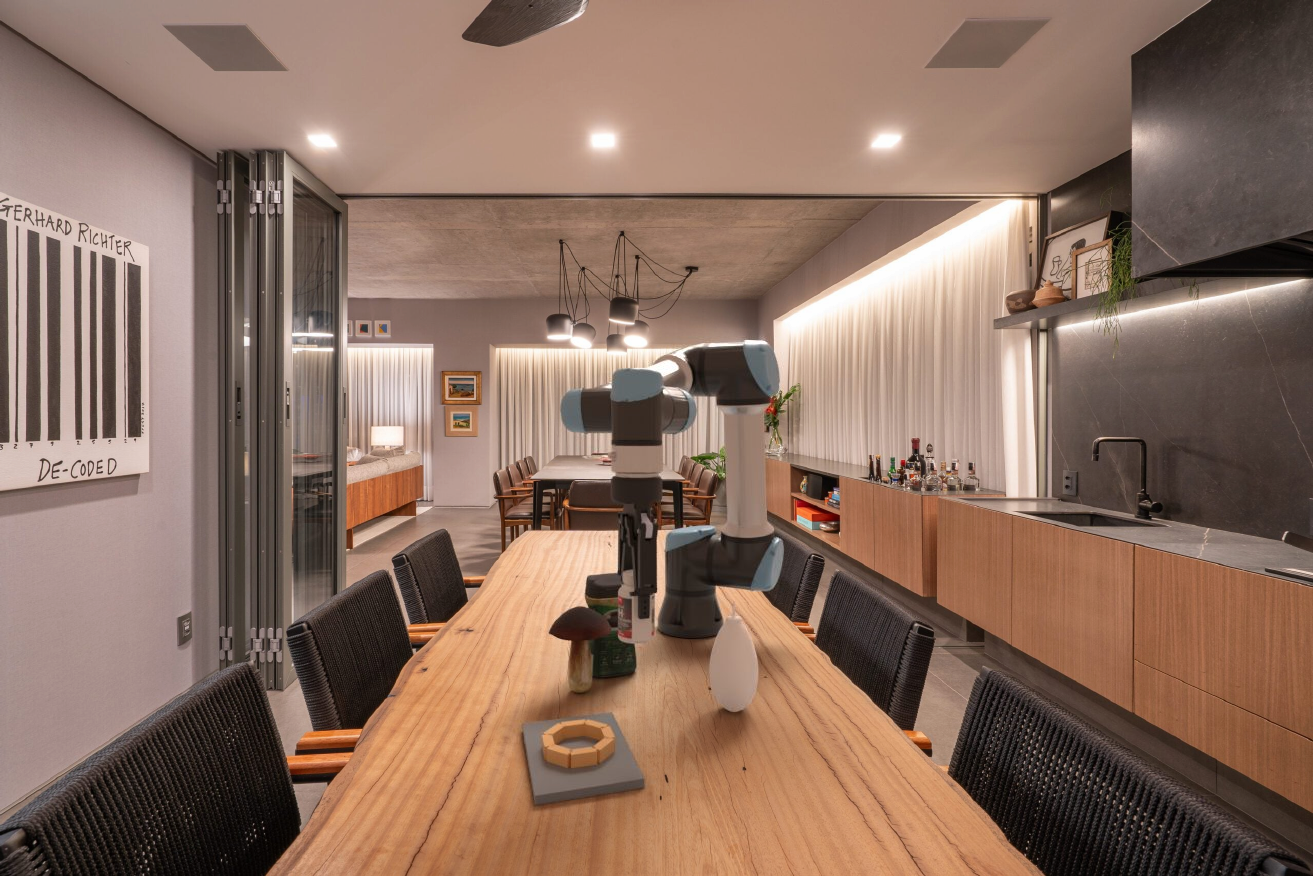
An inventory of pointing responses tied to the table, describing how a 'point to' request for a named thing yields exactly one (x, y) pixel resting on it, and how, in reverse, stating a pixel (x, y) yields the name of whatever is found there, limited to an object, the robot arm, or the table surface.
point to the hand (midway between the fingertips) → (636, 633)
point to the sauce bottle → (733, 665)
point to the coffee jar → (610, 650)
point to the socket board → (579, 758)
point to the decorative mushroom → (580, 642)
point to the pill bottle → (629, 610)
